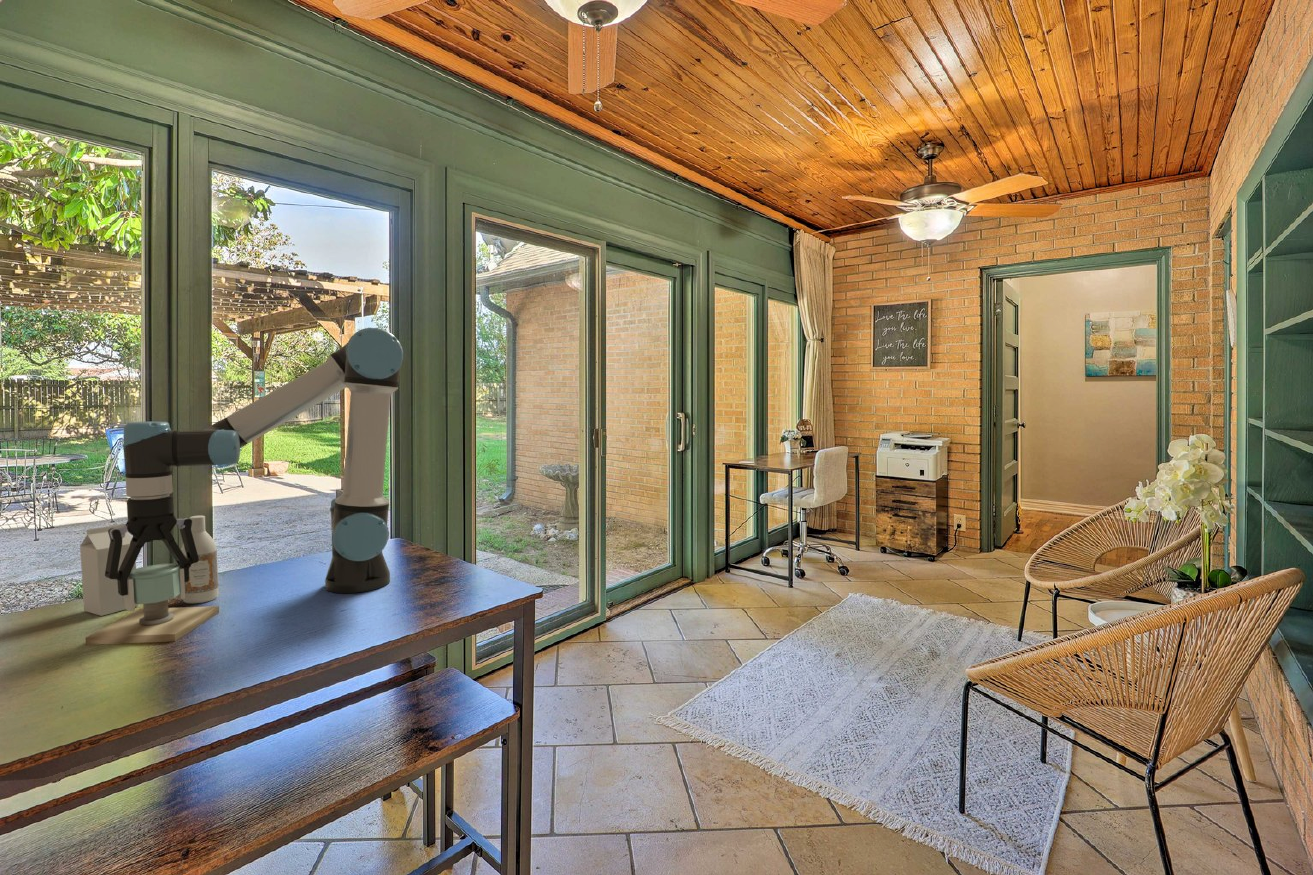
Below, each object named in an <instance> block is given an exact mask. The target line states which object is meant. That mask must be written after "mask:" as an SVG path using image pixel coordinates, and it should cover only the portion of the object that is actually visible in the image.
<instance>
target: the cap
mask: <svg viewBox="0 0 1313 875" xmlns="http://www.w3.org/2000/svg"><path fill="white" fill-rule="evenodd" d="M129 578H131V579H133V586H134V603H135V604H138V605H143V604H148V603H158V602H161V601H165V600H172V599H175V598H177V597H176V596H177V595H179V594H180V580H179V565H178V563H159V564H152V565H146V566H141V567H138V568H137V567H136V569H134V570H132V571H131V573H130V575H129Z"/></svg>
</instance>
